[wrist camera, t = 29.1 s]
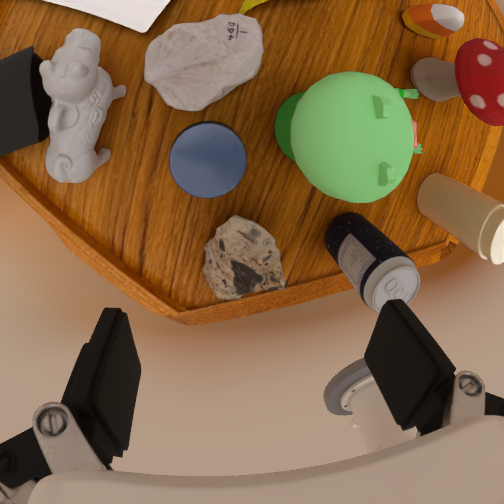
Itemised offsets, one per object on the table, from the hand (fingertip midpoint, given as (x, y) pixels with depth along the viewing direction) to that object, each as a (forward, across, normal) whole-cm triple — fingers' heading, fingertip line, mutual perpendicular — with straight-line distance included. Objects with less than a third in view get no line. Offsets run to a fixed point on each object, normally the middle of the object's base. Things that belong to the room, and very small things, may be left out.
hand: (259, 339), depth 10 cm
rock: (+22, 0, +7) cm, 23 cm away
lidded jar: (+22, -26, 0) cm, 33 cm away
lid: (+19, +2, -3) cm, 20 cm away
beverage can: (+22, -13, +5) cm, 26 cm away
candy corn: (+21, -20, -22) cm, 37 cm away
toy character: (+22, -12, -7) cm, 26 cm away
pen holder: (+13, +27, -10) cm, 32 cm away
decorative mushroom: (+21, -22, -15) cm, 34 cm away
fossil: (+21, +3, -12) cm, 25 cm away
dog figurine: (+21, +14, -8) cm, 26 cm away
